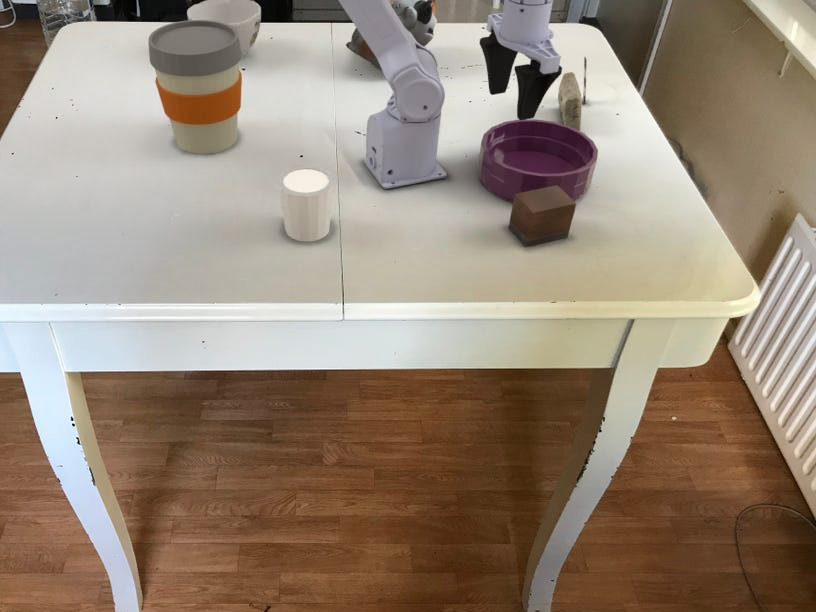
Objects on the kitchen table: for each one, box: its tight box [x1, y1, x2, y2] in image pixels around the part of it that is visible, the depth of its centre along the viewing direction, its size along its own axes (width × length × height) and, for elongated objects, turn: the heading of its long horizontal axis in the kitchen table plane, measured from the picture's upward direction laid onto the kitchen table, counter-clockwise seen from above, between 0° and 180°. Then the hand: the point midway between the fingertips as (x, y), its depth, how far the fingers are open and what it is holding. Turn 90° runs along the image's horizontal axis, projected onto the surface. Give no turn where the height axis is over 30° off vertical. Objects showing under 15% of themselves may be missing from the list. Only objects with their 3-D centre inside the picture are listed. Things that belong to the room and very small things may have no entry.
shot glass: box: [277, 165, 335, 242], centre depth 93 cm, size 7×7×7 cm
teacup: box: [186, 0, 262, 60], centre depth 129 cm, size 15×12×8 cm
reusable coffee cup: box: [148, 19, 243, 155], centre depth 106 cm, size 13×13×15 cm
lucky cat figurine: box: [345, 0, 438, 71], centre depth 127 cm, size 15×12×14 cm
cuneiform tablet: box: [557, 56, 587, 131], centre depth 115 cm, size 7×4×12 cm
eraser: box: [508, 185, 577, 247], centre depth 93 cm, size 6×4×5 cm
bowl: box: [476, 118, 599, 204], centre depth 102 cm, size 15×15×5 cm
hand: (511, 105), depth 99 cm, fingers open, 7 cm apart
